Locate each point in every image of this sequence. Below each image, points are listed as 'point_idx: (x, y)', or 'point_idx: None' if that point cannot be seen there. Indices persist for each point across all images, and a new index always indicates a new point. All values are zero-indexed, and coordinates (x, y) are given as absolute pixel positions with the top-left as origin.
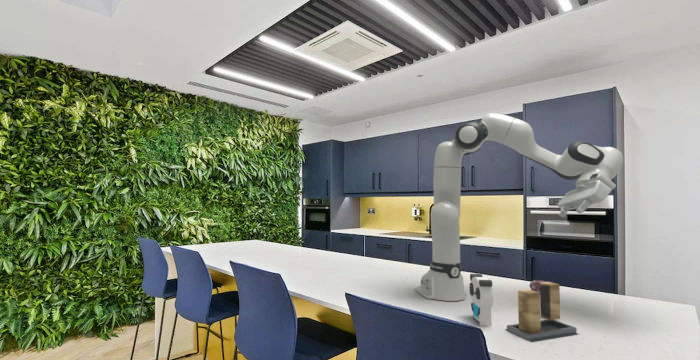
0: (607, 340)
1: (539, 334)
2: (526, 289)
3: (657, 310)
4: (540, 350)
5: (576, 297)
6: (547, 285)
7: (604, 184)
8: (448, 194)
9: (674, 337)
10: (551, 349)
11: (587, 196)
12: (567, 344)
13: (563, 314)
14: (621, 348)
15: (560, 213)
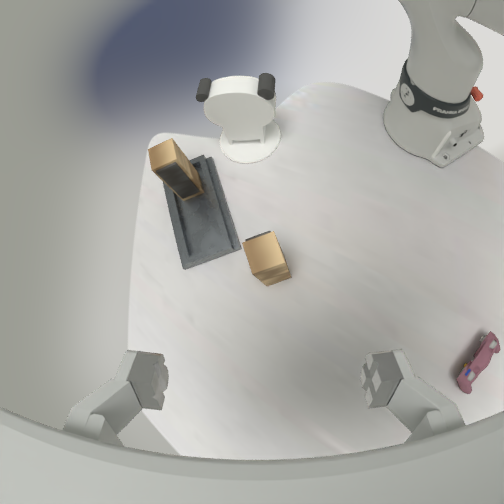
0: (173, 309)
1: (167, 189)
2: (175, 154)
3: None
4: (151, 185)
5: None
6: (251, 240)
7: None
8: None
9: (186, 433)
10: (152, 201)
11: (31, 423)
12: (164, 232)
13: (315, 322)
14: (146, 306)
15: (382, 353)
